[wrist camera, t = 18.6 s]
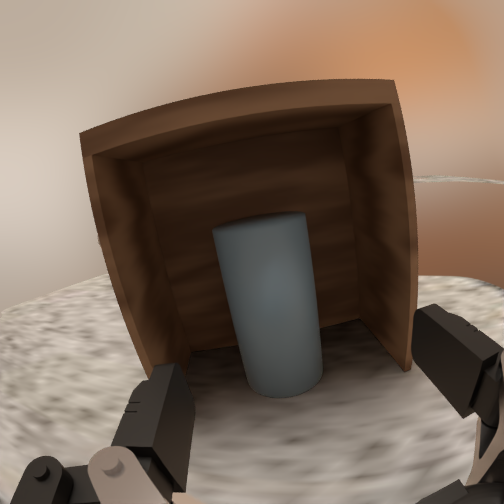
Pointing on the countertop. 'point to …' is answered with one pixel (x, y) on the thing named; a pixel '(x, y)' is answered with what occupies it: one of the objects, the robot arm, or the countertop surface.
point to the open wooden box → (256, 207)
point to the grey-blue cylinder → (272, 300)
